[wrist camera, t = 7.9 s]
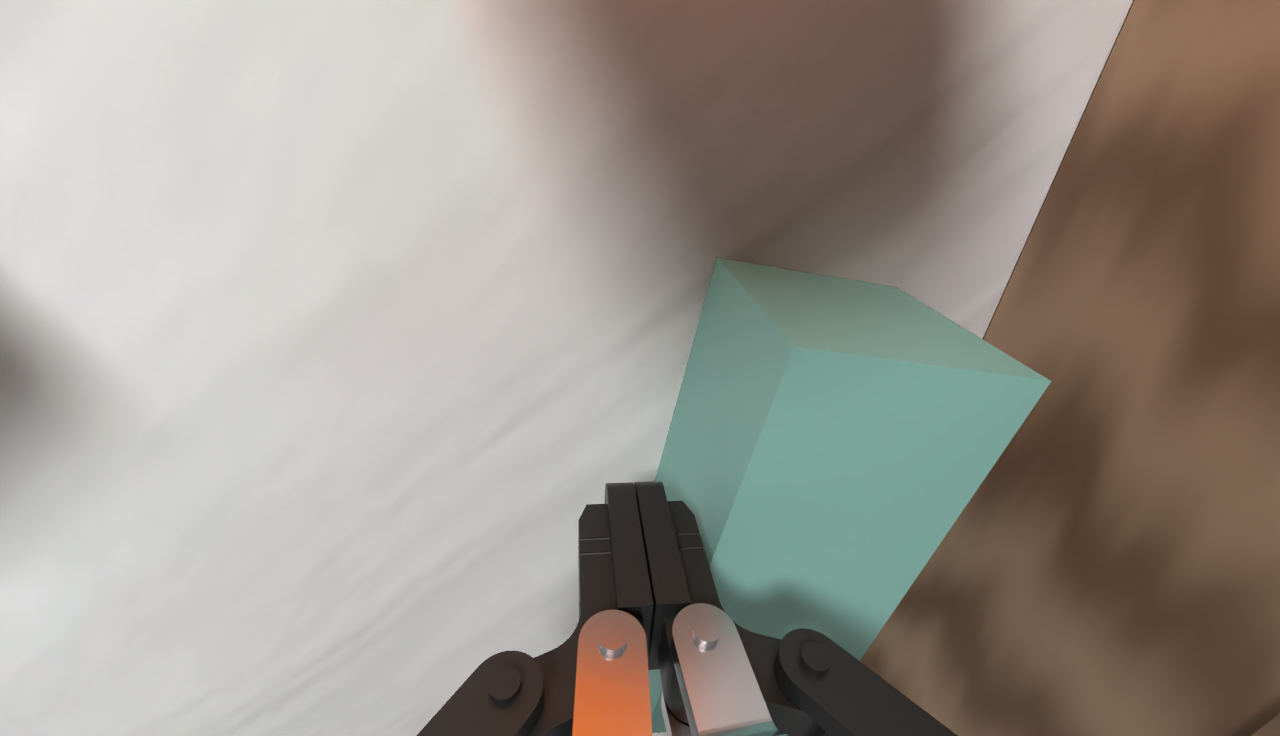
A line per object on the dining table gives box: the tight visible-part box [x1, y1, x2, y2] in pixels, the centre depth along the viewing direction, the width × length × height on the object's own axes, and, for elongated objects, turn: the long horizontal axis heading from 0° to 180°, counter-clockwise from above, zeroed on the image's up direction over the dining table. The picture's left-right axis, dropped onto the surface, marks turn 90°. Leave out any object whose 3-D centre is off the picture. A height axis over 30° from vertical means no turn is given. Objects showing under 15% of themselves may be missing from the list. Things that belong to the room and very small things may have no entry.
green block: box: [648, 257, 1051, 733], centre depth 16 cm, size 14×6×6 cm, turn 169°
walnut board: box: [860, 0, 1280, 736], centre depth 14 cm, size 30×3×11 cm, turn 177°
